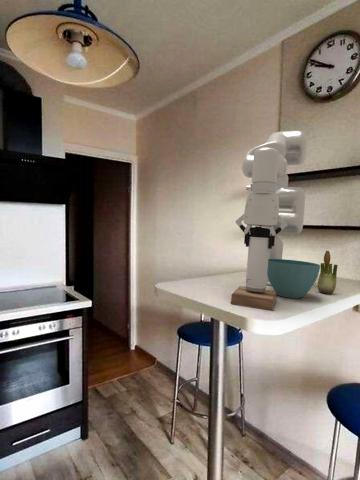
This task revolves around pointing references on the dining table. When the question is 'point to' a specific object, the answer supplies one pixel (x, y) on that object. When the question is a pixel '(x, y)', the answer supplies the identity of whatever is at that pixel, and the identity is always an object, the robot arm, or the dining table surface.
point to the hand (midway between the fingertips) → (258, 247)
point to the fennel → (325, 261)
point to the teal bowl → (292, 276)
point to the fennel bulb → (327, 278)
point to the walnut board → (254, 298)
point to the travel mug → (257, 259)
